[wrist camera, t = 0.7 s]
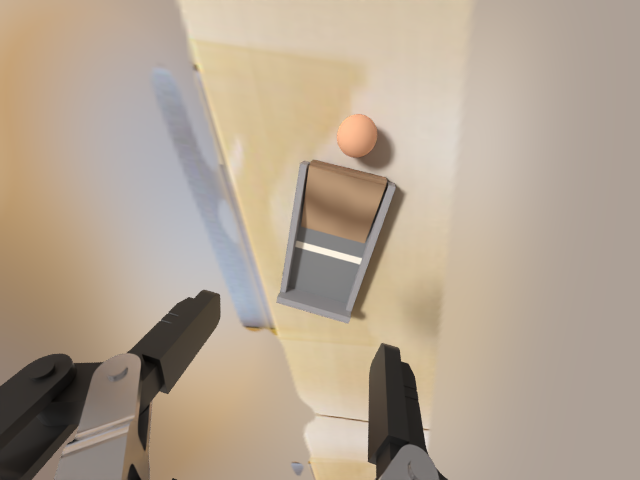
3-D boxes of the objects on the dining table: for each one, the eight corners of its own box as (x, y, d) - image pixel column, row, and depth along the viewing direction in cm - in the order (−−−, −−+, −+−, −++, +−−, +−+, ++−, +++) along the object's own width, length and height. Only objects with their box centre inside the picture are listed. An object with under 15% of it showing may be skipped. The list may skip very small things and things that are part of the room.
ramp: (314, 158, 29) (309, 162, 26) (385, 176, 28) (387, 181, 26) (303, 223, 33) (297, 232, 30) (364, 239, 32) (364, 250, 30)
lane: (304, 160, 28) (297, 165, 26) (394, 183, 28) (396, 190, 25) (283, 289, 38) (276, 302, 35) (349, 309, 37) (348, 323, 35)
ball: (344, 110, 25) (340, 109, 22) (381, 119, 25) (383, 119, 22) (335, 149, 27) (330, 155, 24) (370, 158, 27) (370, 164, 24)
